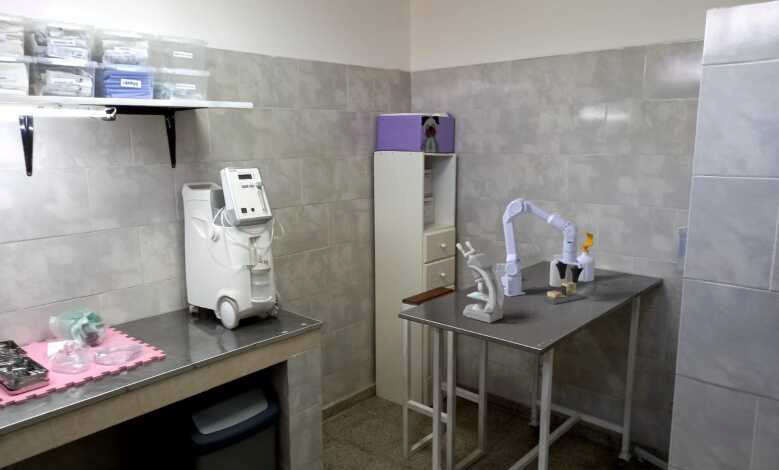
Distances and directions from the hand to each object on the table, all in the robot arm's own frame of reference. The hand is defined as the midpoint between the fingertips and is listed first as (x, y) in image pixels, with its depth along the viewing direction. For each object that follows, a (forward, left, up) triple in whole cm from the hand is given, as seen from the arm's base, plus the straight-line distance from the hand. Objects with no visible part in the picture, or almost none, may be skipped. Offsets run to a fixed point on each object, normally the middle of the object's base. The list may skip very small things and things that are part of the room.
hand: (568, 280), depth 247 cm
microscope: (-48, -1, -8) cm, 49 cm away
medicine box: (-5, +39, -8) cm, 40 cm away
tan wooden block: (0, 0, -7) cm, 7 cm away
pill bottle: (+12, +19, -8) cm, 24 cm away
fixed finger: (-8, 0, -7) cm, 11 cm away
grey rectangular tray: (-3, 0, -8) cm, 9 cm away
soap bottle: (+31, +21, -8) cm, 38 cm away
